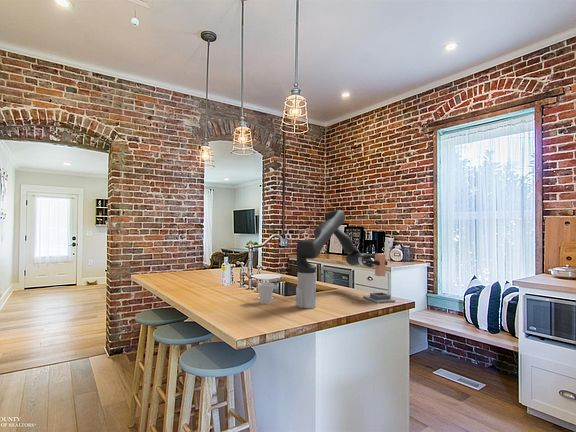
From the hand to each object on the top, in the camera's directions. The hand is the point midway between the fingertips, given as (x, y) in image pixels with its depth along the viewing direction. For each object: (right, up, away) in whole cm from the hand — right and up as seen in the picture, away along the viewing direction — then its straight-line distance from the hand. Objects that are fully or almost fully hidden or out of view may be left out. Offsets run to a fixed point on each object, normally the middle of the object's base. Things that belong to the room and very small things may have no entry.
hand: (383, 263), depth 183 cm
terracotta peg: (-1, -7, +3) cm, 8 cm away
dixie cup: (-64, -20, -8) cm, 67 cm away
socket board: (-2, -20, +2) cm, 20 cm away
